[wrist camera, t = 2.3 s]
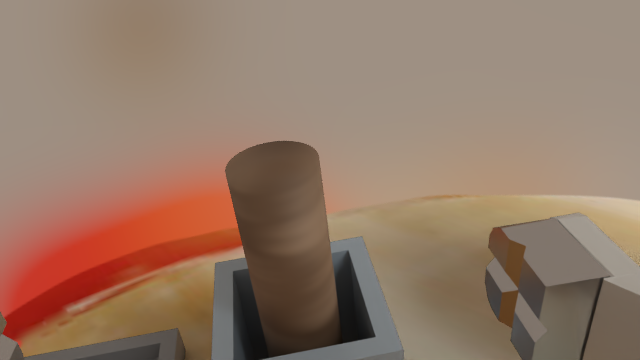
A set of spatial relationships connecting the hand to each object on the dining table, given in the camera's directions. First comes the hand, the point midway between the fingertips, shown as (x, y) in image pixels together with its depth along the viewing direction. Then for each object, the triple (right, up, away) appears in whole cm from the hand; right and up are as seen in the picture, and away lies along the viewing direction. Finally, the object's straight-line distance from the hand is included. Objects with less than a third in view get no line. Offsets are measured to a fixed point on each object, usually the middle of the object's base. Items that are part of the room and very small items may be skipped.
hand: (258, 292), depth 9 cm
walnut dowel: (+1, -11, +22) cm, 24 cm away
